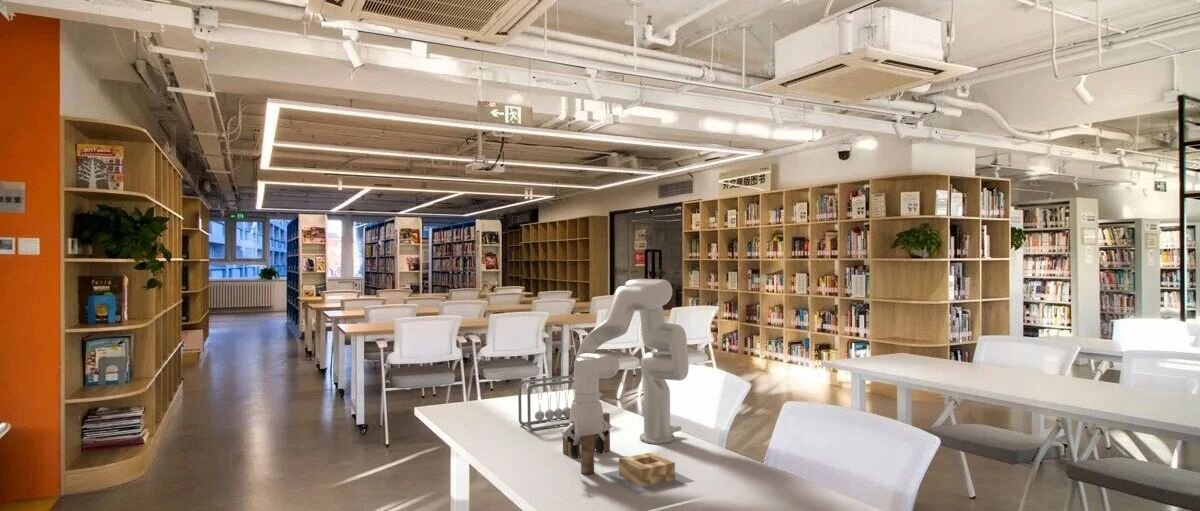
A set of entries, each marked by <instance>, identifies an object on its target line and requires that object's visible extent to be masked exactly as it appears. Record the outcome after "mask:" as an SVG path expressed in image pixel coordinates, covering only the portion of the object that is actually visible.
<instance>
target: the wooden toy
mask: <svg viewBox="0 0 1200 511" xmlns="http://www.w3.org/2000/svg"><path fill="white" fill-rule="evenodd" d="M572 402H575V399H574V398H573V400H572ZM603 418H604V421H606V422H608V423H609V424H611V416H610V413H609V412H605V411H603ZM569 421H570V415H569V419H568V422H569ZM604 428H605V426H604ZM569 436H570V437H571V436H572V434H571V433H570V432H569ZM597 438H598V437H597V436H596V435H594V450H595V449H596V439H597ZM577 445H578V456H580V457H581V437H580V438H579V440H578V442H577ZM609 450H611V429H610V430H609V433H608V435H607V436H606V437H605V440H604V449H603V451H608V452H609ZM595 451H596V450H595ZM562 453H564V454H563V455H565V454H566V455H565V456H568V457H570V458H571V457H572V455H571V444H570V443H569V442H568V441H567V440H566V439H565V437H564V436H563V435H562Z"/></svg>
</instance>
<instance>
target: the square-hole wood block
mask: <svg viewBox="0 0 1200 511" xmlns="http://www.w3.org/2000/svg"><path fill="white" fill-rule="evenodd" d="M618 470H619V475H620V476H622V477H624V478H625V479H627V480H629V481H631V482H633V483H635V484H637V485H638V486H640V487H644V486H648V485H653V484H657V483H661V482H666V481H670V480H675V472H676V463H675V462H674V461H672V460H671V459H667V458H665V457H663V456H661V455H659V454H656V453H654V452H646V453H641V454H637V455H636V454H635V455H631V456H626V457H620V458H618Z"/></svg>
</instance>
